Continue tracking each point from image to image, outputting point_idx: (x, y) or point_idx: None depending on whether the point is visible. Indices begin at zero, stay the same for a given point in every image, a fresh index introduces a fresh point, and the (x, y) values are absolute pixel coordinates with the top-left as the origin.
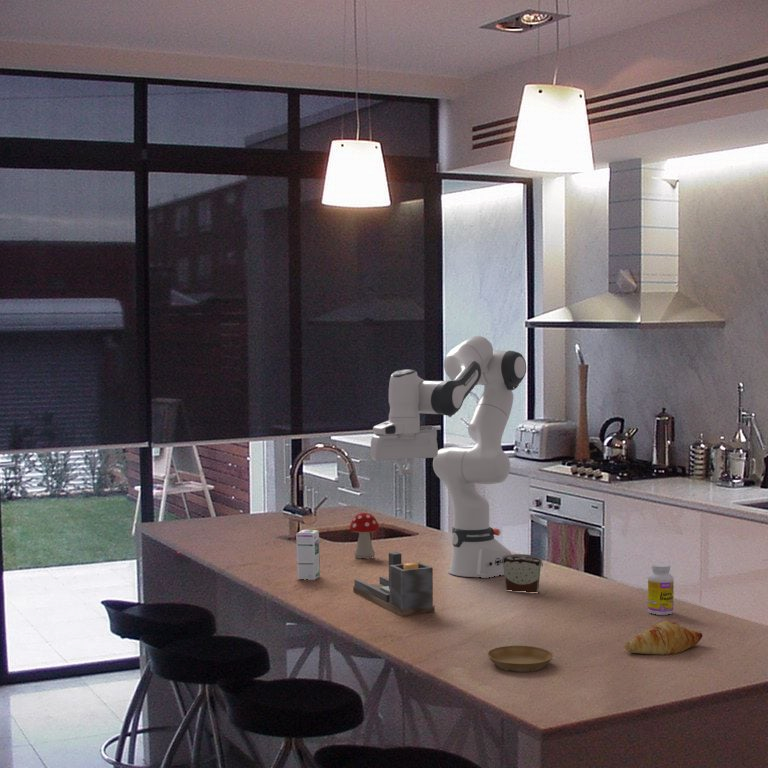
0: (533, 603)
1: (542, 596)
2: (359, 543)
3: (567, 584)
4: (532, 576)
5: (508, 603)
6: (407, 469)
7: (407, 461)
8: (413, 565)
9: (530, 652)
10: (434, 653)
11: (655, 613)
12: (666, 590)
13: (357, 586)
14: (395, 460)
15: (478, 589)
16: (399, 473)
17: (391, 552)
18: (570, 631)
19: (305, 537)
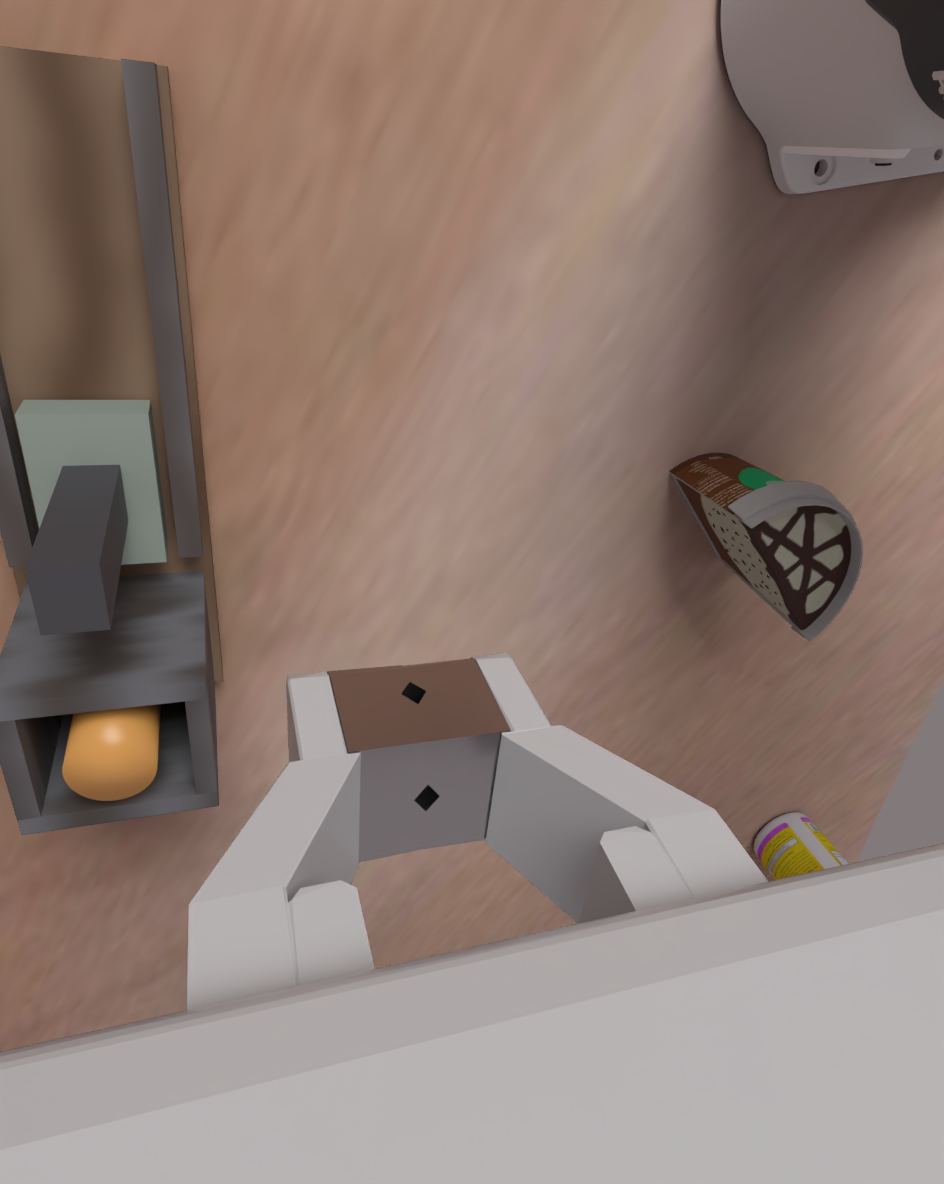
0: (611, 667)
1: (704, 596)
2: None
3: (904, 472)
4: (752, 579)
5: (544, 642)
6: (455, 831)
7: (593, 890)
8: (113, 797)
9: None
10: (17, 1043)
11: (754, 851)
12: None
13: None
14: (190, 1007)
15: (603, 390)
16: (289, 705)
17: (49, 572)
18: (482, 926)
19: None
